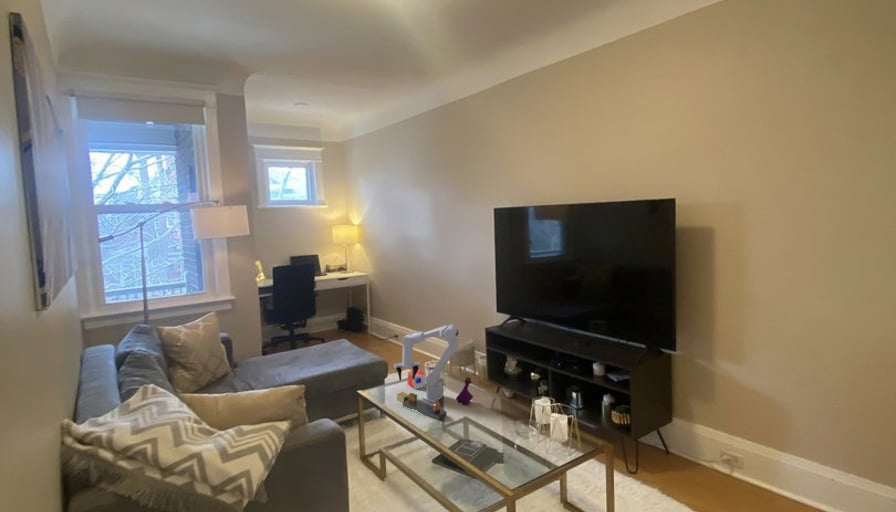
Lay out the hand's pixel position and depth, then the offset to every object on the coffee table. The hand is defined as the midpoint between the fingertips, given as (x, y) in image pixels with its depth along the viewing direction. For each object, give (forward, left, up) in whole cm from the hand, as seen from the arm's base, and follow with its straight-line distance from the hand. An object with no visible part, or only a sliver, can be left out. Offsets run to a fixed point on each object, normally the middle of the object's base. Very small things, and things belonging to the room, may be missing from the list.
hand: (406, 379), depth 267 cm
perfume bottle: (-13, +31, -10) cm, 35 cm away
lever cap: (+7, +4, -10) cm, 12 cm away
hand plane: (+9, +20, -9) cm, 24 cm away
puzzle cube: (-14, -4, -10) cm, 17 cm away
